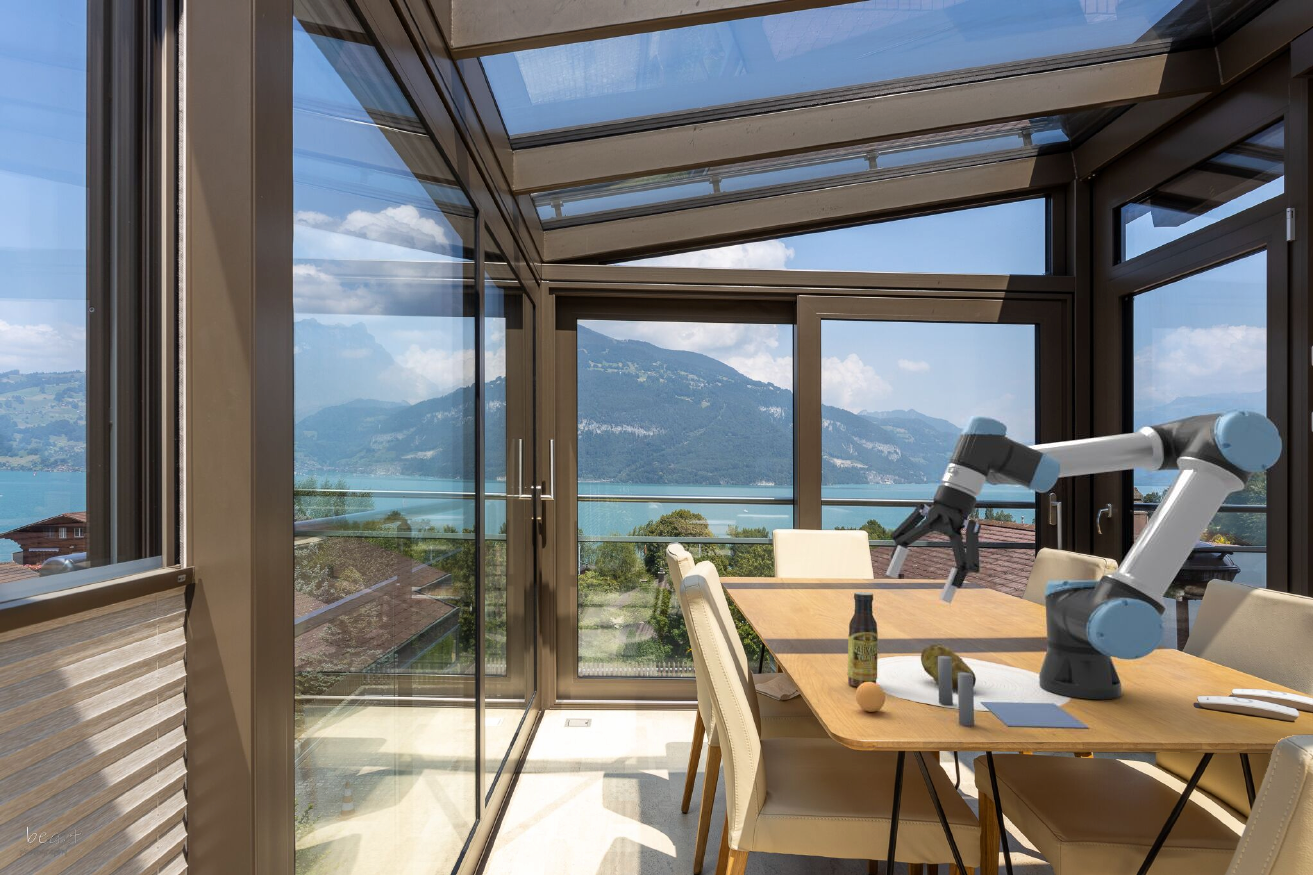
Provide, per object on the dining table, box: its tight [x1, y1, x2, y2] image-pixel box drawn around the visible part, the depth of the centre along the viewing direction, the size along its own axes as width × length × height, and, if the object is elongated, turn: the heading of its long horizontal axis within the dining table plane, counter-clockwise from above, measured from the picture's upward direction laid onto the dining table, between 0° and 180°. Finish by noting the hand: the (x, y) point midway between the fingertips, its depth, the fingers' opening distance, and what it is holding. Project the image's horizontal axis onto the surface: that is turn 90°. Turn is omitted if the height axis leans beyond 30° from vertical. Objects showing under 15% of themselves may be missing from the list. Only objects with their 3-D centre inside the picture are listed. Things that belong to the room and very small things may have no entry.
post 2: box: [957, 672, 975, 728], centre depth 135 cm, size 3×3×9 cm
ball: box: [855, 682, 886, 713], centre depth 142 cm, size 6×6×6 cm
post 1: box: [937, 656, 954, 706], centre depth 147 cm, size 3×3×9 cm
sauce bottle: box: [847, 591, 879, 688], centre depth 160 cm, size 6×6×20 cm
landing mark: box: [980, 701, 1089, 729], centre depth 140 cm, size 14×14×1 cm
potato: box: [920, 644, 977, 691], centre depth 160 cm, size 8×13×8 cm, turn 4°
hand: (916, 588), depth 146 cm, fingers open, 13 cm apart
